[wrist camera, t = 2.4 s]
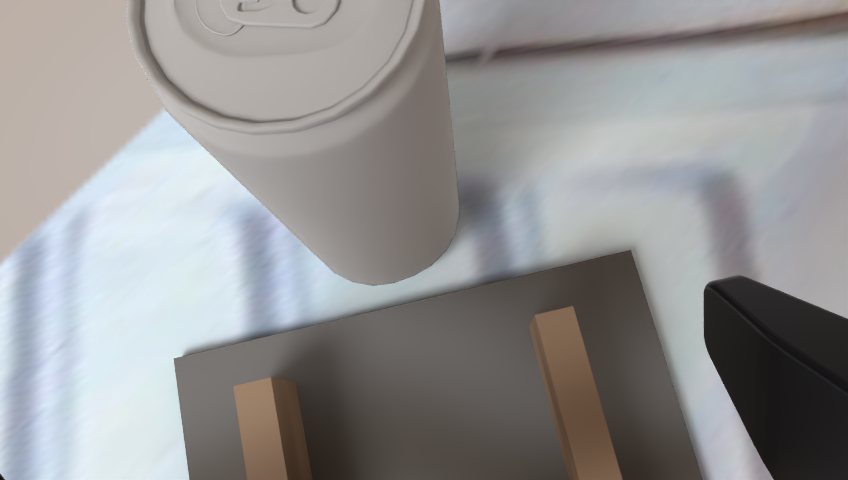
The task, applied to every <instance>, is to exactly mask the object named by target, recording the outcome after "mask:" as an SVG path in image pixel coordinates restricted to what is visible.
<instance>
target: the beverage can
mask: <svg viewBox="0 0 848 480" xmlns="http://www.w3.org/2000/svg"><path fill="white" fill-rule="evenodd" d="M126 23H127V27H128V31H129V36H130V40H131V45H132V49H133V53H134V55H135V57H136V58H137V60H138V62H139V64H140V65H141V67H142V68H143V70H144V72H145V74H146V76H147V79H148V81H149V83H150V84H151V86H152V88H153V89H154V91H155V93H156V94H157V96H158V98H159V99H160V101H161V103H162V105H163V106H164V108H165V110H166V111H167V112H168V113H169V114H170V116H171V117H173V118H174V119H175V120H176V121H177V122H178V123H179V124H180V125H181V126H182V127H183V128H184V129H185V130H186V131H187V132H188V133H189V134H190V135H191V136H192V137H193V138H194V139H195V140H196V141H197V142H198V143H200V144H201V145H202V146H203V147H204V148H205V149H206V150H207V151H208V152H209V153H210V154H211V155H212V156H213V157H214V158H215V159H216V160H217V161H218V162H219V163H220V164H221V165H222V166H223V167H224V168H225V169H227V170H228V171H229V172H230V173H231V174H232V175H233V176H234V177H235V178H236V179H237V180H238V181H239V182H240V183H241V184H242V185H243V186H244V187H245V188H246V189H247V190H248V191H249V192H250V193H251V194H252V195H254V196H255V197H256V198H257V199H258V200H259V201H260V202H261V203H262V204H263V205H264V206H265V207H266V208H267V209H268V210H269V211H270V212H271V213H272V214H273V215H274V216H275V217H276V218H277V219H278V220H279V221H281V222H282V223H283V224H284V225H285V226H286V227H287V228H288V229H289V230H290V231H291V232H292V233H293V234H294V235H295V236H296V237H297V238H298V239H299V240H300V241H301V242H302V243H303V244H304V245H305V246H306V247H308V248H309V249H310V250H311V251H312V252H313V253H314V254H315V255H316V256H317V257H318V258H319V259H320V260H321V261H322V262H323V263H324V264H325V265H326V266H328V267H329V268H330V269H331V270H332V271H333V272H334V273H336V274H338V275H340V276H342V277H344V278H346V279H348V280H350V281H352V282H355V283H361V284H366V285H372V286H375V285H382V284H390V283H395V282H398V281H401V280H403V279H406V278H409V277H411V276H414V275H416V274H418V273H419V272H421V271H423V270H424V269H426V268H428V267H429V266H431V265H432V264H433V263H434V262H435V261H436V260H437V259H438V258H439V257H440V256H441V255H442V254H443V253H444V252H445V251H446V250H447V248H448V246H449V244H450V242H451V240H452V238H453V236H454V235H455V232H456V228H457V223H458V218H459V214H460V213H459V199H458V187H457V176H456V166H455V155H454V145H453V135H452V125H451V115H450V104H449V94H448V84H447V74H446V64H445V54H444V44H443V33H442V23H441V13H440V3H439V0H127V5H126Z"/></svg>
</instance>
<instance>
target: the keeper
mask: <svg viewBox="0 0 848 480" xmlns="http://www.w3.org/2000/svg"><path fill="white" fill-rule="evenodd" d="M174 364H175V372H176V379H177V387H178V395H179V402H180V410H181V418H182V425H183V433H184V441H185V448H186V456H187V464H188V471H189V479H190V480H703V479H702V476H701V473H700V470H699V467H698V463H697V460H696V457H695V454H694V451H693V447H692V444H691V441H690V438H689V435H688V431H687V428H686V425H685V422H684V419H683V416H682V412H681V409H680V406H679V403H678V400H677V396H676V393H675V390H674V387H673V384H672V380H671V377H670V374H669V371H668V368H667V364H666V361H665V358H664V355H663V352H662V348H661V345H660V342H659V339H658V336H657V332H656V329H655V326H654V323H653V320H652V316H651V313H650V310H649V307H648V304H647V300H646V297H645V294H644V291H643V288H642V284H641V281H640V278H639V275H638V272H637V268H636V265H635V262H634V259H633V256H632V252H631V250H629V251H625V252H621V253H616V254H612V255H608V256H604V257H600V258H595V259H591V260H587V261H583V262H578V263H574V264H570V265H566V266H562V267H557V268H553V269H549V270H545V271H541V272H536V273H532V274H528V275H524V276H520V277H515V278H511V279H507V280H503V281H498V282H494V283H490V284H486V285H482V286H477V287H473V288H469V289H465V290H461V291H456V292H452V293H448V294H444V295H440V296H435V297H431V298H427V299H423V300H418V301H414V302H410V303H406V304H402V305H397V306H393V307H389V308H385V309H381V310H376V311H372V312H368V313H364V314H360V315H355V316H351V317H347V318H343V319H338V320H334V321H330V322H326V323H322V324H317V325H313V326H309V327H305V328H301V329H296V330H292V331H288V332H284V333H280V334H275V335H271V336H267V337H263V338H258V339H254V340H250V341H246V342H242V343H237V344H233V345H229V346H225V347H221V348H216V349H212V350H208V351H204V352H200V353H195V354H191V355H187V356H183V357H178V358H174Z"/></svg>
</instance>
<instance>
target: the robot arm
mask: <svg viewBox="0 0 848 480" xmlns="http://www.w3.org/2000/svg"><path fill="white" fill-rule="evenodd" d="M704 339H705V344H706V348H707V351H708V353H709V355H710V358H711V360H712V362H713V364H714V366H715V368H716V370H717V372H718V374H719V376H720V378H721V380H722V382H723V384H724V386H725V388H726V390H727V392H728V394H729V396H730V398H731V400H732V402H733V404H734V406H735V408H736V410H737V412H738V414H739V416H740V418H741V420H742V422H743V424H744V426H745V428H746V430H747V432H748V434H749V436H750V438H751V440H752V442H753V444H754V446H755V447H756V449H757V451H758V453H759V455H760V457H761V459H762V461H763V463H764V464H765V466H766V467H767V469H768V471H769V472H770V474H771V476H772V477H773V479H774V480H848V319H847V318H845V317H842V316H840V315H837V314H835V313H832V312H830V311H828V310H825V309H823V308H820V307H818V306H815V305H813V304H810V303H808V302H806V301H803V300H801V299H798V298H796V297H793V296H791V295H789V294H786V293H784V292H781V291H779V290H776V289H774V288H771V287H769V286H767V285H764V284H762V283H759V282H757V281H754V280H752V279H750V278H747V277H744V276H739V275H738V276H732V277H728V278H723V279H719V280H715V281H711V282H709V283H708V284H707V285H706V286H705V289H704ZM0 480H5V479H4V478H3V477H2V475H1V474H0Z"/></svg>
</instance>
